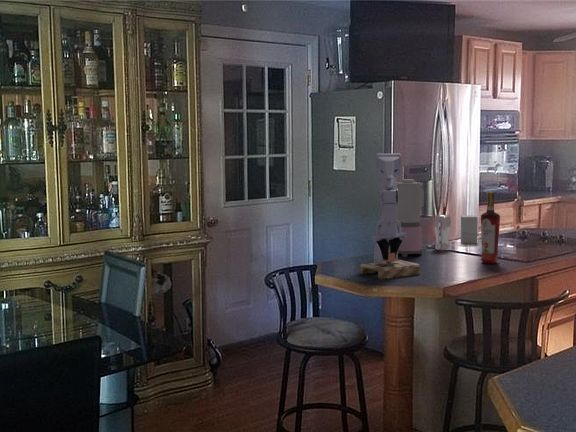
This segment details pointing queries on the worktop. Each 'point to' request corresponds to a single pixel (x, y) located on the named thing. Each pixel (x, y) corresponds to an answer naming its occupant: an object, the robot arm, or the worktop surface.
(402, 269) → the keyhole plate
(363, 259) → the worktop surface
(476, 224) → the supplement box
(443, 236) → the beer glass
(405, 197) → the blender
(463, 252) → the worktop surface
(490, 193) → the liquor
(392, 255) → the keyhole peg
